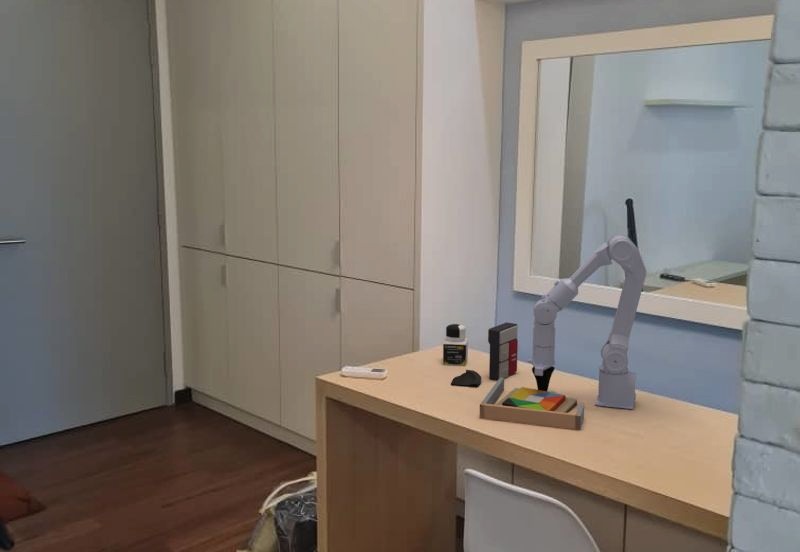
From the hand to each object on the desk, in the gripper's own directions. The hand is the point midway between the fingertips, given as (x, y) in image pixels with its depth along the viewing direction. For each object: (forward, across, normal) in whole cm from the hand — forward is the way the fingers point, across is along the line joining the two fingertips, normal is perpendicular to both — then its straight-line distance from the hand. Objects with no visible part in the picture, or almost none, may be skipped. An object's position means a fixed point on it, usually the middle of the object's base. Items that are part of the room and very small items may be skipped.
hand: (542, 393), depth 200 cm
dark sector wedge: (+2, -8, -22) cm, 24 cm away
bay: (+1, +9, 0) cm, 9 cm away
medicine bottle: (+2, -25, -31) cm, 40 cm away
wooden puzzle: (+2, +9, -1) cm, 9 cm away
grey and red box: (+2, -16, -14) cm, 21 cm away
